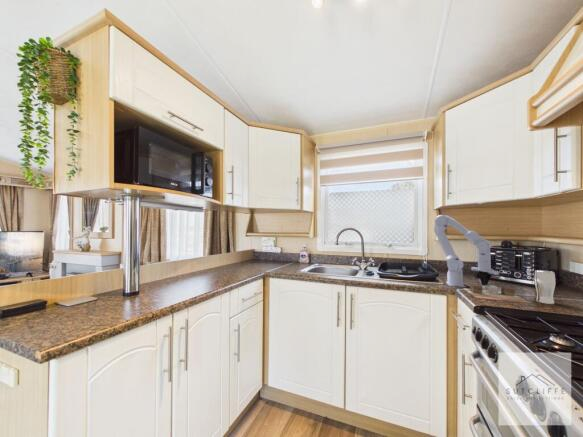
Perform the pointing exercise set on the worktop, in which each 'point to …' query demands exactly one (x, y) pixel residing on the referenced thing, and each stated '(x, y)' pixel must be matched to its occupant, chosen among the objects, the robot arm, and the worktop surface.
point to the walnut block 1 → (476, 288)
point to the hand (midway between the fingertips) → (484, 285)
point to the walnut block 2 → (507, 291)
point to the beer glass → (545, 286)
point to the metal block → (491, 289)
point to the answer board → (496, 296)
